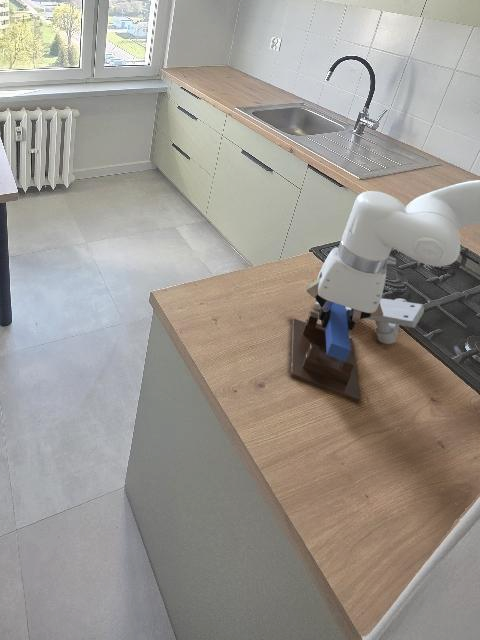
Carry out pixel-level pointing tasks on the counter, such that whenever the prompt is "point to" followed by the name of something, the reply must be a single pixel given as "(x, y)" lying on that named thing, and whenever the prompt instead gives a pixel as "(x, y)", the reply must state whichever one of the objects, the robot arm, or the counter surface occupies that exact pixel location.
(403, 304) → the door handle
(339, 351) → the blue bar
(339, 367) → the holder
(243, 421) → the counter surface
